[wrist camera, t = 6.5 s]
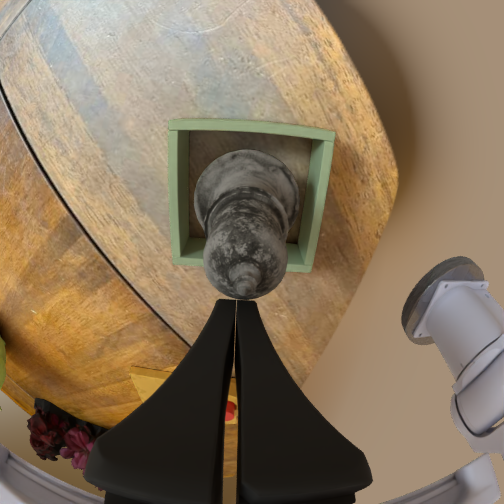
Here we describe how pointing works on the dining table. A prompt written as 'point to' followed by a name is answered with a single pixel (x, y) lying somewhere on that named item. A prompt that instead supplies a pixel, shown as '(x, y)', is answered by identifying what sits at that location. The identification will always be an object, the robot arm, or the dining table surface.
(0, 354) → the teapot
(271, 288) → the chess piece
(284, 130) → the green square tray
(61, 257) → the dining table surface
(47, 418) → the flower arrangement
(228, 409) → the stop button
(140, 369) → the control block
